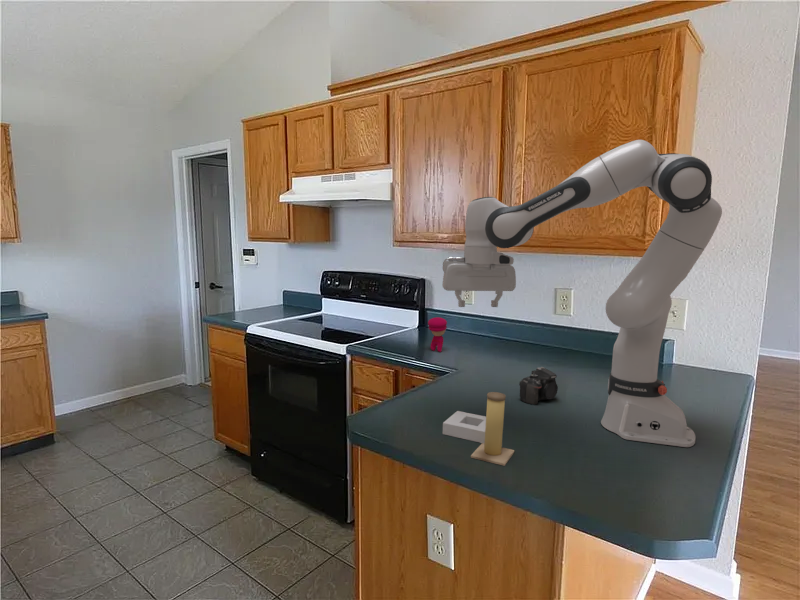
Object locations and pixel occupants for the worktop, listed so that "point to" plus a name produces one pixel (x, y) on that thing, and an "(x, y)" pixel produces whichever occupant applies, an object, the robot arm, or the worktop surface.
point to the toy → (437, 332)
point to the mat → (496, 459)
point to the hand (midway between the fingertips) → (478, 306)
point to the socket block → (466, 426)
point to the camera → (538, 386)
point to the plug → (494, 423)
